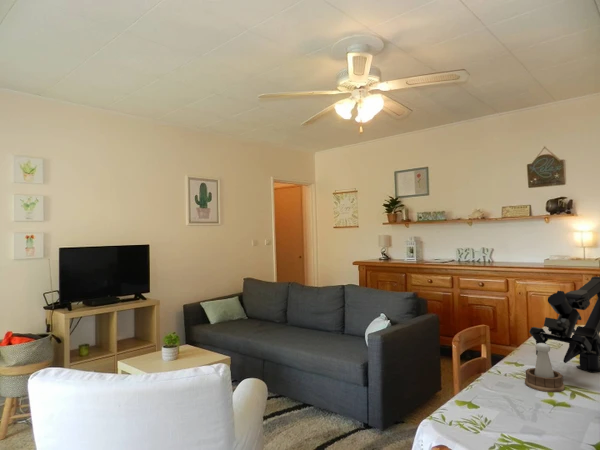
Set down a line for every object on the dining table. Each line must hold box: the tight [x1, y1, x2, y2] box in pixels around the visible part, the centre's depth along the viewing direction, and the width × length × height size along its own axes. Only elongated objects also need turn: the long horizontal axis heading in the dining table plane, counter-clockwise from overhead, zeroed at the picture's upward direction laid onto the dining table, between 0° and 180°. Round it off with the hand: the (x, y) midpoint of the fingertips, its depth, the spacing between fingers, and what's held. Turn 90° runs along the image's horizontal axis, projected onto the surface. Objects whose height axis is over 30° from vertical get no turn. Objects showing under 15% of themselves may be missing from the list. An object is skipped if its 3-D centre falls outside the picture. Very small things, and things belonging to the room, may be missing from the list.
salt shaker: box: [534, 343, 554, 378], centre depth 137 cm, size 6×6×13 cm
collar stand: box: [524, 367, 566, 393], centre depth 136 cm, size 12×12×4 cm
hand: (550, 358), depth 139 cm, fingers open, 9 cm apart
